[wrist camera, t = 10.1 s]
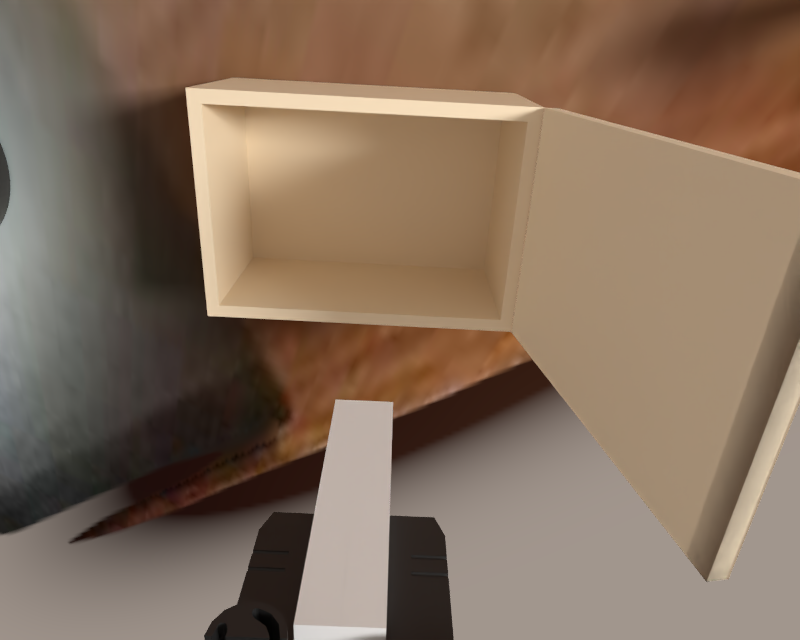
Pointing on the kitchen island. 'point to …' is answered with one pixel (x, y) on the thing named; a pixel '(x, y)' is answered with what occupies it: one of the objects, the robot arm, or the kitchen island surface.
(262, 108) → the carton
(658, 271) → the lid
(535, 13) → the kitchen island surface
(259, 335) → the kitchen island surface
